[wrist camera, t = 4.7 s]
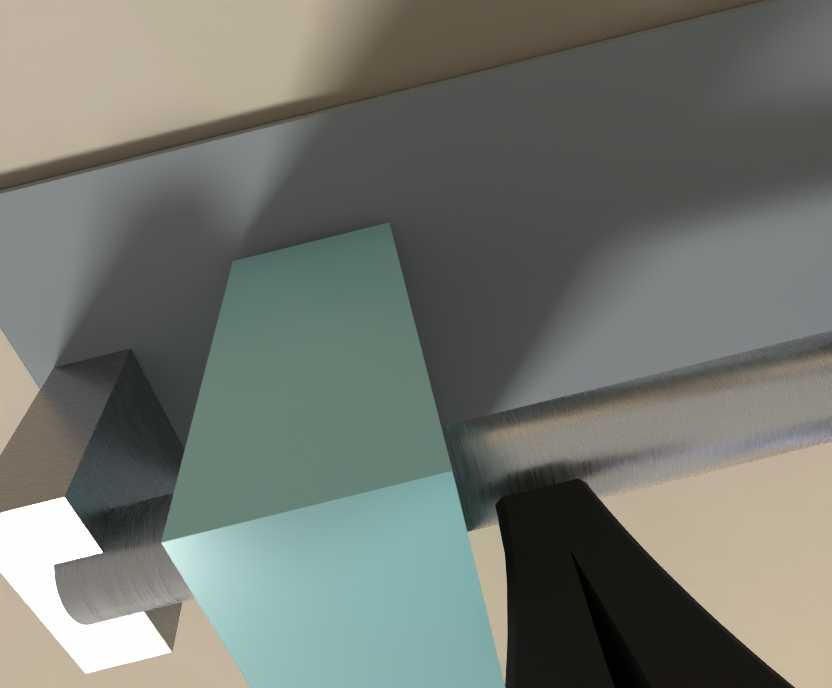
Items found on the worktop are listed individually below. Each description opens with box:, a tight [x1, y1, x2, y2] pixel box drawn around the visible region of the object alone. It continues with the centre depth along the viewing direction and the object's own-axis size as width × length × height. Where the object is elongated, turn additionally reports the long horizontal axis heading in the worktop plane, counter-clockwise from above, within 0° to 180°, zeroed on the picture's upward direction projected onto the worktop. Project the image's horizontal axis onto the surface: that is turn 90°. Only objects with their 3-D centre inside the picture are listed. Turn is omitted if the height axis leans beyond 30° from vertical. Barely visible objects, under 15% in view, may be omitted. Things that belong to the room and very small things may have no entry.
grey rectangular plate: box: [0, 0, 832, 450], centre depth 15 cm, size 21×11×1 cm, turn 102°
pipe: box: [0, 330, 832, 673], centre depth 13 cm, size 20×4×5 cm, turn 102°
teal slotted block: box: [161, 223, 505, 688], centre depth 11 cm, size 3×7×7 cm, turn 12°
